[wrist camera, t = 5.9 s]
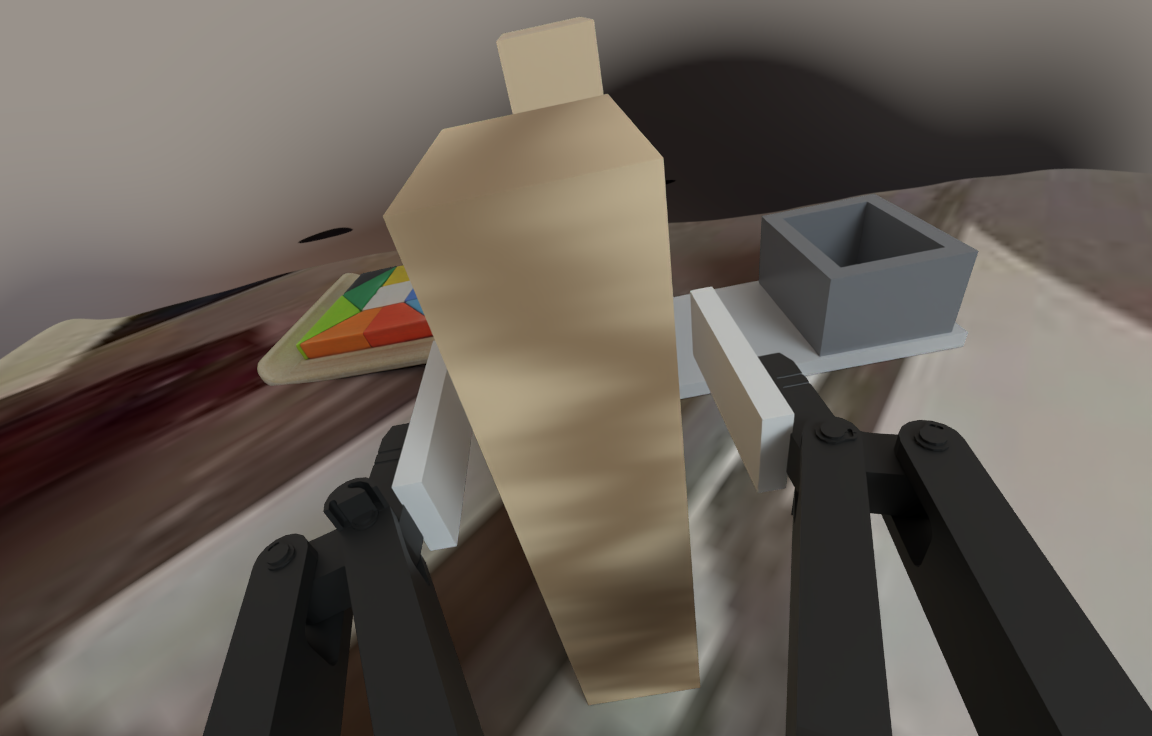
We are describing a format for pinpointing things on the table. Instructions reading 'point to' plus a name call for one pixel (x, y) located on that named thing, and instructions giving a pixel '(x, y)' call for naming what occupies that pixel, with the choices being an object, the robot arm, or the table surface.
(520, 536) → the oak slat
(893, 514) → the robot arm
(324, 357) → the wooden puzzle
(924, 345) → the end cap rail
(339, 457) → the table surface
